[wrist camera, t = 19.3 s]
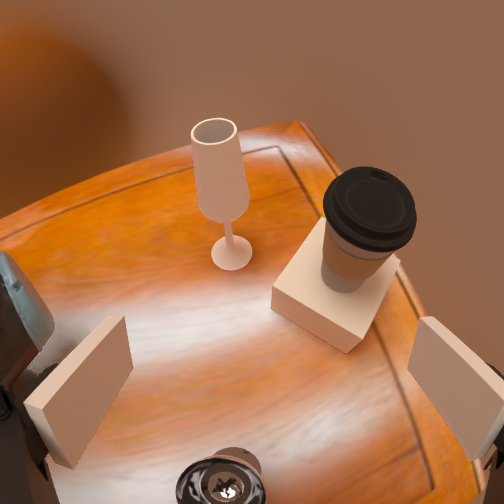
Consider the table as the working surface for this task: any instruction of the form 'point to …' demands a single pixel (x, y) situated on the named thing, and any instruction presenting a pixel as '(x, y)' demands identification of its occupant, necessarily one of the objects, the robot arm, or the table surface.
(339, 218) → the coffee cup
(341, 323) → the riser
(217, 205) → the champagne flute
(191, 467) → the wine glass
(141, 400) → the table surface
